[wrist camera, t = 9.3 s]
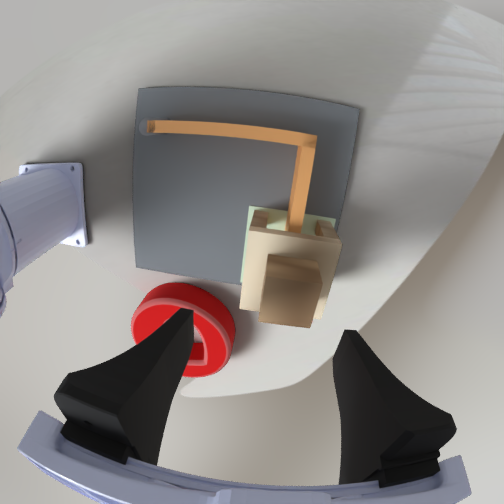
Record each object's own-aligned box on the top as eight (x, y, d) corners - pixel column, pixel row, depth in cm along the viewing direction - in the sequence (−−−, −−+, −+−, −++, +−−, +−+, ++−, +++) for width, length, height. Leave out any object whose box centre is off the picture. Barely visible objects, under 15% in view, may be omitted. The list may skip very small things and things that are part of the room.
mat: (138, 264, 24) (136, 267, 23) (142, 89, 18) (138, 88, 17) (319, 291, 23) (320, 295, 23) (357, 109, 17) (359, 108, 17)
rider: (246, 277, 23) (233, 335, 16) (254, 209, 20) (243, 249, 14) (314, 286, 22) (325, 346, 16) (330, 221, 20) (352, 265, 14)
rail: (154, 256, 23) (139, 273, 20) (157, 118, 18) (139, 117, 15) (289, 276, 22) (290, 297, 20) (314, 132, 18) (321, 132, 15)
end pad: (240, 281, 23) (240, 282, 23) (249, 205, 20) (249, 205, 20) (317, 292, 23) (317, 293, 23) (335, 218, 20) (336, 219, 20)
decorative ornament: (219, 368, 29) (214, 390, 26) (137, 336, 28) (126, 356, 25) (249, 304, 25) (246, 326, 22) (149, 266, 24) (134, 284, 21)
